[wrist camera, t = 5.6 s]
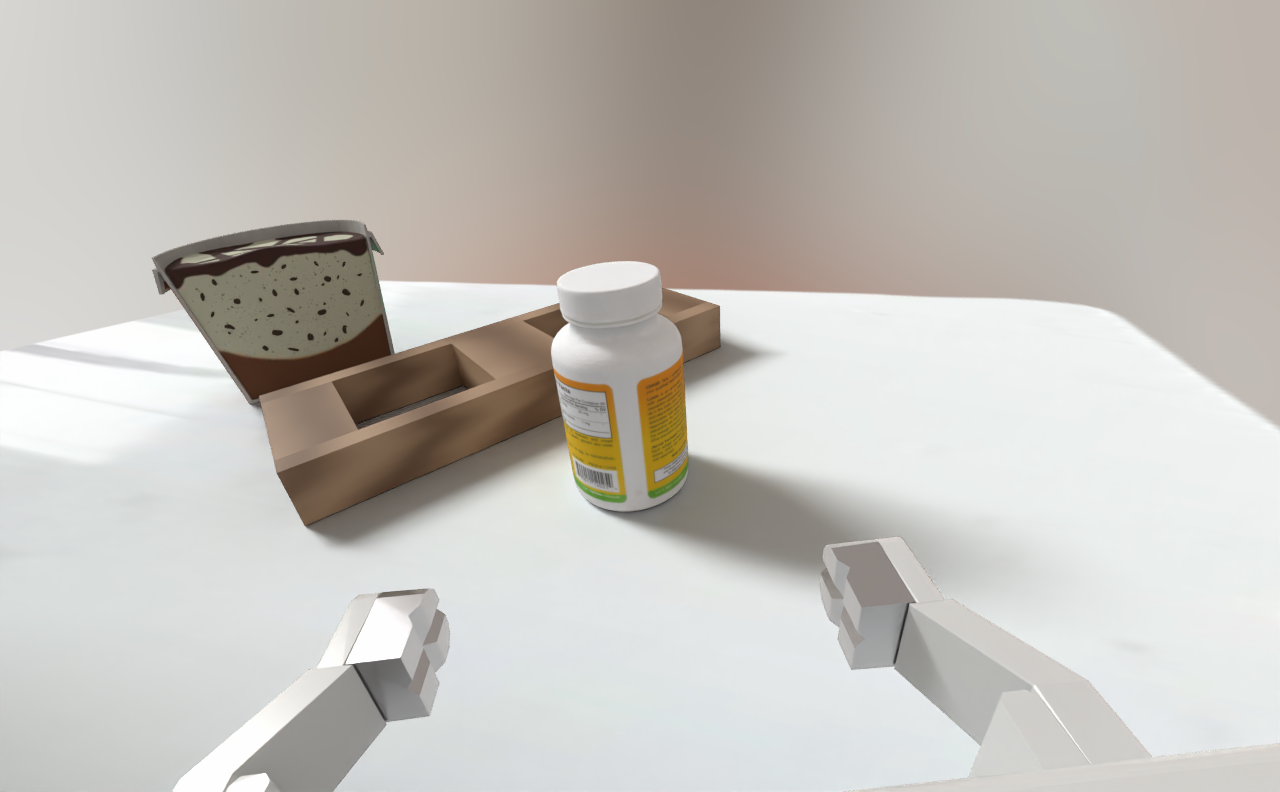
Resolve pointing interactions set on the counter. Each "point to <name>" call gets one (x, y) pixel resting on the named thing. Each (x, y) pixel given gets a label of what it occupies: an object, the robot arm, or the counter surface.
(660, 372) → the supplement bottle
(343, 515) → the counter surface
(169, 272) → the food container
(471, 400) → the socket rail
